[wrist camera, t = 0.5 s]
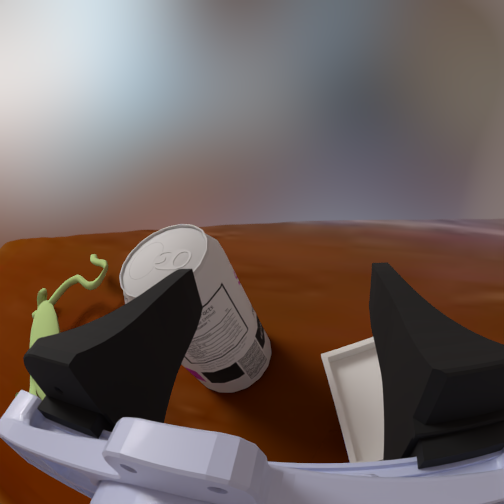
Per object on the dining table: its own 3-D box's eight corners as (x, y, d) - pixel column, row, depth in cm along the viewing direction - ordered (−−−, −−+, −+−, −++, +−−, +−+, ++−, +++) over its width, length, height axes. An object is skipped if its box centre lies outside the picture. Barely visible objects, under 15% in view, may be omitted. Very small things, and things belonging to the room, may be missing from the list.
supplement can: (187, 387, 30) (94, 301, 20) (211, 322, 36) (144, 222, 26) (261, 401, 27) (188, 311, 17) (280, 327, 33) (231, 214, 23)
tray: (472, 421, 19) (478, 416, 18) (351, 471, 20) (351, 469, 19) (427, 323, 27) (430, 314, 26) (322, 361, 28) (320, 354, 27)
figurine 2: (126, 263, 50) (108, 239, 46) (114, 419, 30) (81, 400, 26) (49, 296, 51) (30, 276, 47) (21, 429, 31) (-8, 412, 27)
